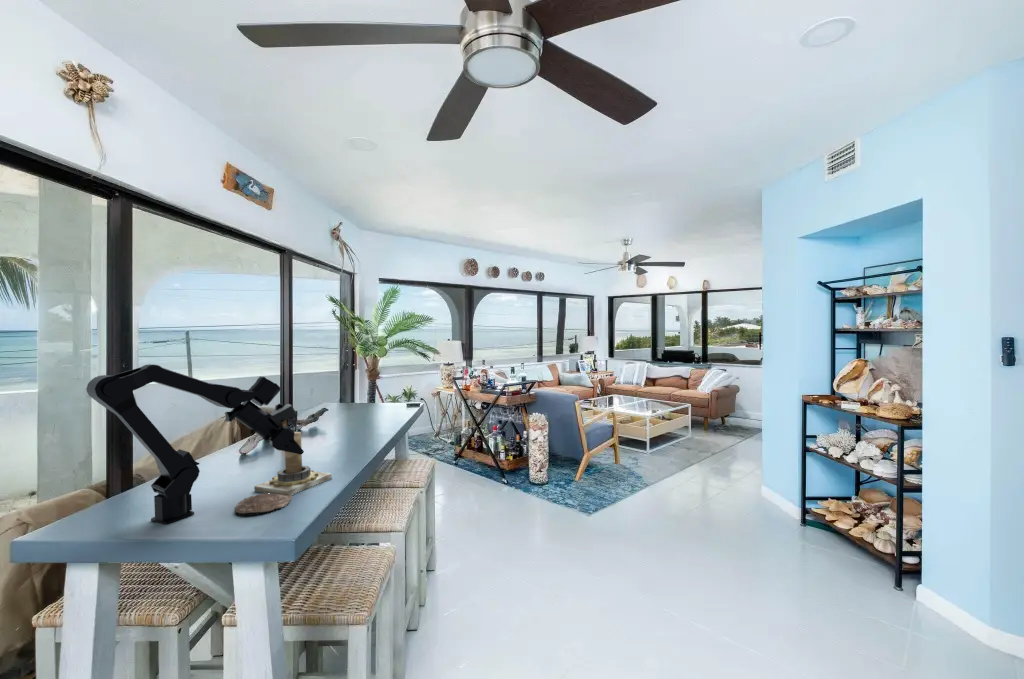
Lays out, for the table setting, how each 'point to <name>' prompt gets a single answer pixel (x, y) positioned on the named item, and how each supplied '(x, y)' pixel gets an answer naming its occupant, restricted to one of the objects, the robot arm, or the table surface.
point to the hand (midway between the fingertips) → (298, 450)
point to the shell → (262, 504)
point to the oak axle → (294, 458)
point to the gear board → (292, 481)
